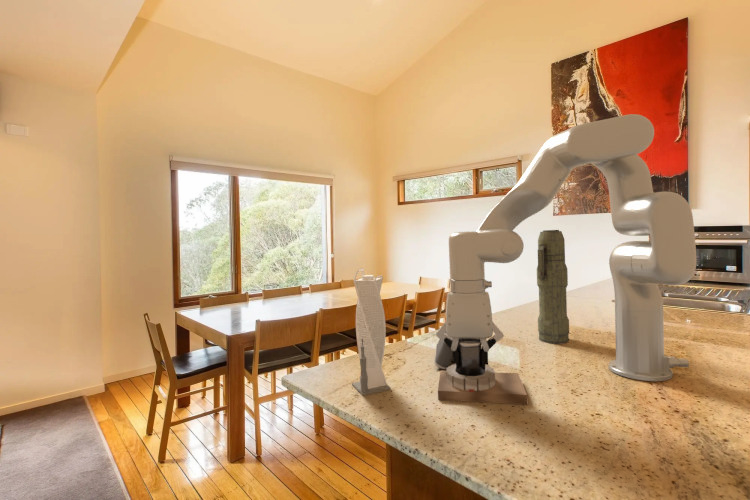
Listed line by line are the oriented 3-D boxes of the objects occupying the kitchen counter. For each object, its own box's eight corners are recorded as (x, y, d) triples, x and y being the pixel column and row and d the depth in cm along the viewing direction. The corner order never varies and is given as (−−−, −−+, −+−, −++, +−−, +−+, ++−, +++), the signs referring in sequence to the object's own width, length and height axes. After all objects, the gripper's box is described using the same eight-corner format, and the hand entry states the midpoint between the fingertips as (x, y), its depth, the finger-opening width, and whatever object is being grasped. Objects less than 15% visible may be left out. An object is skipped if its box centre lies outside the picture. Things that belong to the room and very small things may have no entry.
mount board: (518, 381, 88) (517, 363, 88) (527, 404, 77) (526, 383, 76) (440, 378, 92) (440, 360, 92) (438, 399, 81) (437, 379, 80)
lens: (481, 369, 87) (480, 335, 86) (483, 378, 82) (482, 342, 81) (458, 369, 88) (457, 335, 88) (458, 377, 83) (457, 341, 82)
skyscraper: (350, 382, 92) (344, 269, 91) (380, 376, 95) (375, 266, 94) (362, 395, 84) (356, 271, 83) (394, 388, 88) (389, 268, 87)
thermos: (576, 338, 120) (573, 229, 119) (558, 346, 113) (555, 230, 111) (549, 333, 127) (546, 230, 126) (530, 341, 120) (527, 231, 118)
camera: (430, 365, 98) (446, 330, 96) (433, 345, 114) (446, 314, 112) (464, 381, 97) (480, 345, 95) (462, 357, 112) (476, 327, 111)
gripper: (505, 283, 86) (508, 362, 86) (430, 285, 89) (433, 360, 90) (509, 288, 78) (512, 374, 79) (427, 289, 82) (431, 371, 83)
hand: (470, 366), depth 85 cm, fingers closed on lens, 4 cm apart
